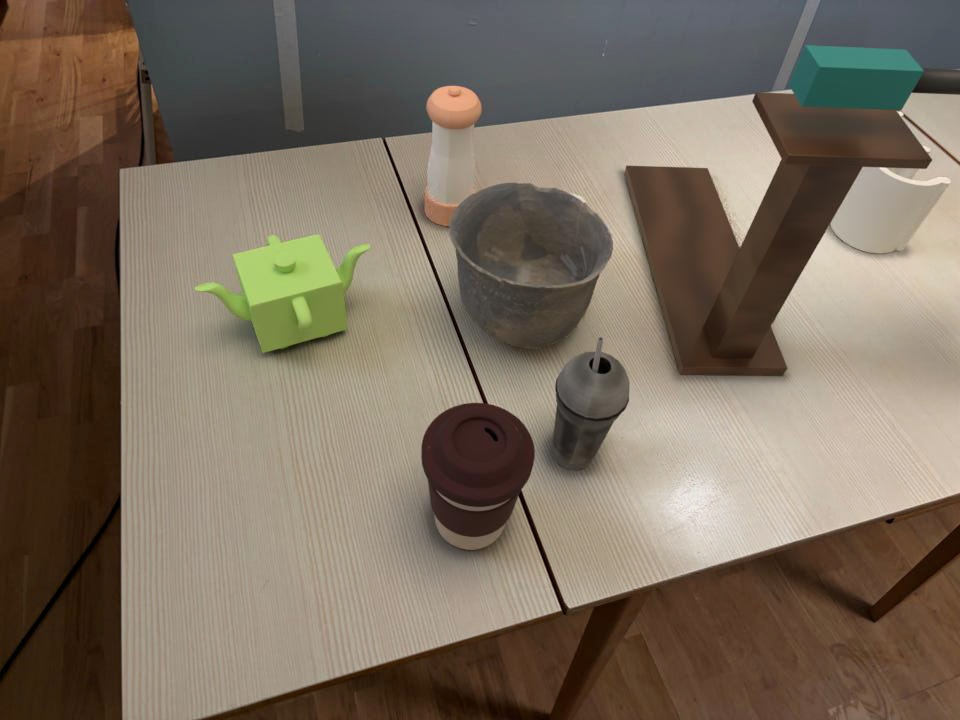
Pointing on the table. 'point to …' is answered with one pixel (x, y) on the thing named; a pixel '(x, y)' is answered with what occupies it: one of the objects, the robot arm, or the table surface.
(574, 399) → the beverage cup
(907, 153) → the headphone stand
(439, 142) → the pepper shaker
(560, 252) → the bowl
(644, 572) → the table surface
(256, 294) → the teapot
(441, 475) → the coffee cup
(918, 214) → the white rounded piece
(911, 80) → the teal block with handle
